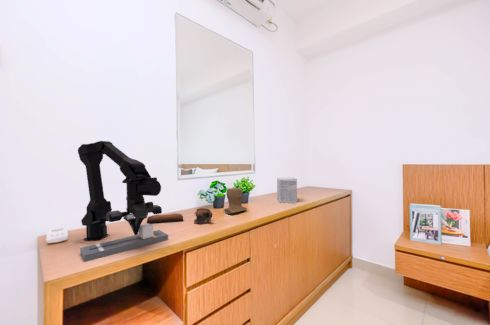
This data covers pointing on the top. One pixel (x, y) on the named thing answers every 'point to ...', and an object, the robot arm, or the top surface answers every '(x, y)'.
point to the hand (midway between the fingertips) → (135, 234)
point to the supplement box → (287, 190)
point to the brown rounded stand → (234, 201)
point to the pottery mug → (202, 216)
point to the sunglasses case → (164, 218)
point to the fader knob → (145, 231)
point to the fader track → (120, 245)
